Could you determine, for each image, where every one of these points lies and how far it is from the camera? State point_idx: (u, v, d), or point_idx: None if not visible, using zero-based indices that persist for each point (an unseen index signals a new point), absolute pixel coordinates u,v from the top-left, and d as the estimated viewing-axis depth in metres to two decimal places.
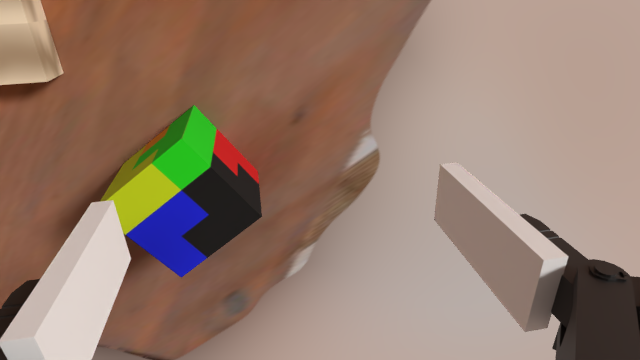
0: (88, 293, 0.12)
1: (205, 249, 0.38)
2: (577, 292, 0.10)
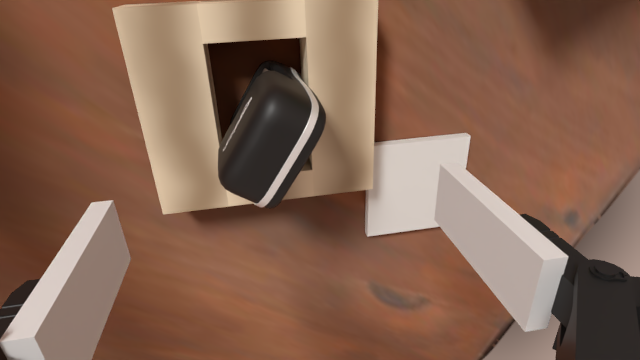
0: (88, 293, 0.12)
1: None
2: (577, 292, 0.10)
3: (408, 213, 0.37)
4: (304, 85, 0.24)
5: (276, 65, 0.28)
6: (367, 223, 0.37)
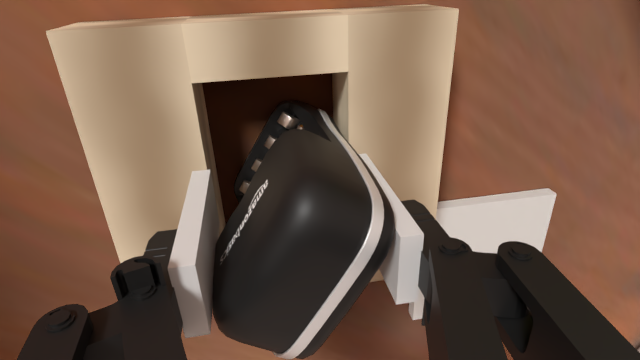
0: (208, 242, 0.14)
1: None
2: (434, 272, 0.11)
3: None
4: (349, 150, 0.15)
5: (300, 108, 0.20)
6: (413, 304, 0.28)
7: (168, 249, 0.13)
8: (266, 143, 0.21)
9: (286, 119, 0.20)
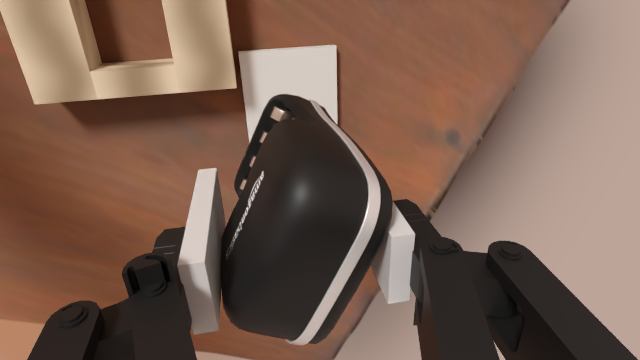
0: (215, 240, 0.14)
1: None
2: (425, 272, 0.11)
3: None
4: (342, 135, 0.16)
5: (291, 101, 0.20)
6: (248, 132, 0.40)
7: (176, 247, 0.13)
8: (261, 139, 0.21)
9: (278, 113, 0.20)
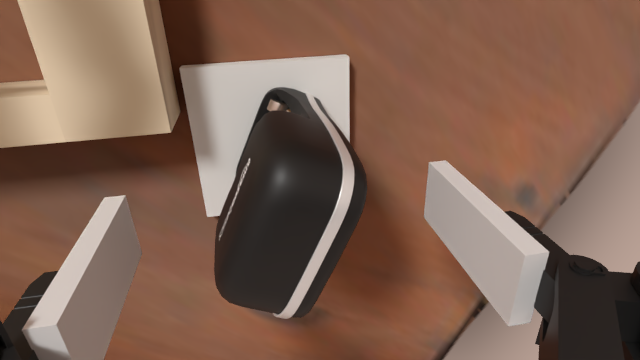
0: (104, 285, 0.12)
1: None
2: (558, 287, 0.10)
3: None
4: (327, 125, 0.17)
5: (286, 93, 0.21)
6: (204, 196, 0.24)
7: None
8: None
9: (275, 105, 0.21)
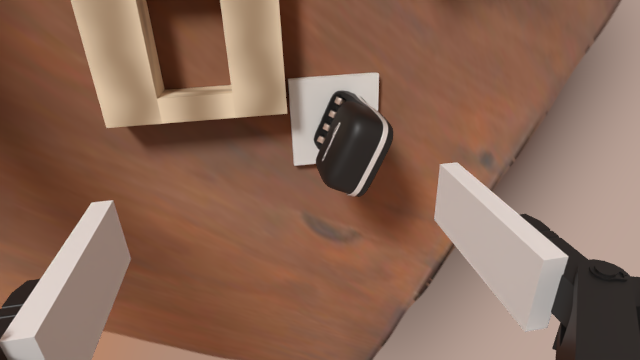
0: (88, 293, 0.12)
1: None
2: (577, 292, 0.10)
3: None
4: (372, 108, 0.35)
5: (345, 93, 0.39)
6: (293, 153, 0.42)
7: None
8: (329, 114, 0.40)
9: (338, 100, 0.39)
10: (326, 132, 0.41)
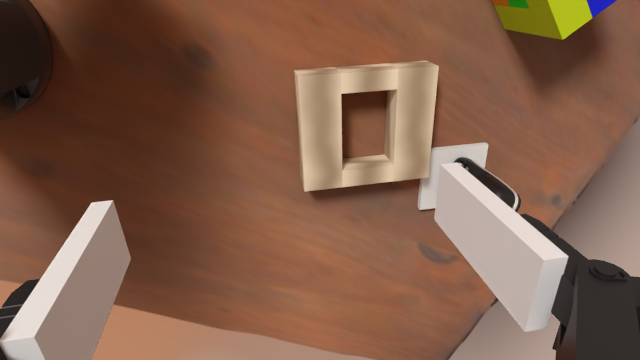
0: (88, 293, 0.12)
1: None
2: (577, 292, 0.10)
3: None
4: (497, 177, 0.49)
5: (467, 161, 0.53)
6: (420, 201, 0.57)
7: None
8: None
9: None
10: None
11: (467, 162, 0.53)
